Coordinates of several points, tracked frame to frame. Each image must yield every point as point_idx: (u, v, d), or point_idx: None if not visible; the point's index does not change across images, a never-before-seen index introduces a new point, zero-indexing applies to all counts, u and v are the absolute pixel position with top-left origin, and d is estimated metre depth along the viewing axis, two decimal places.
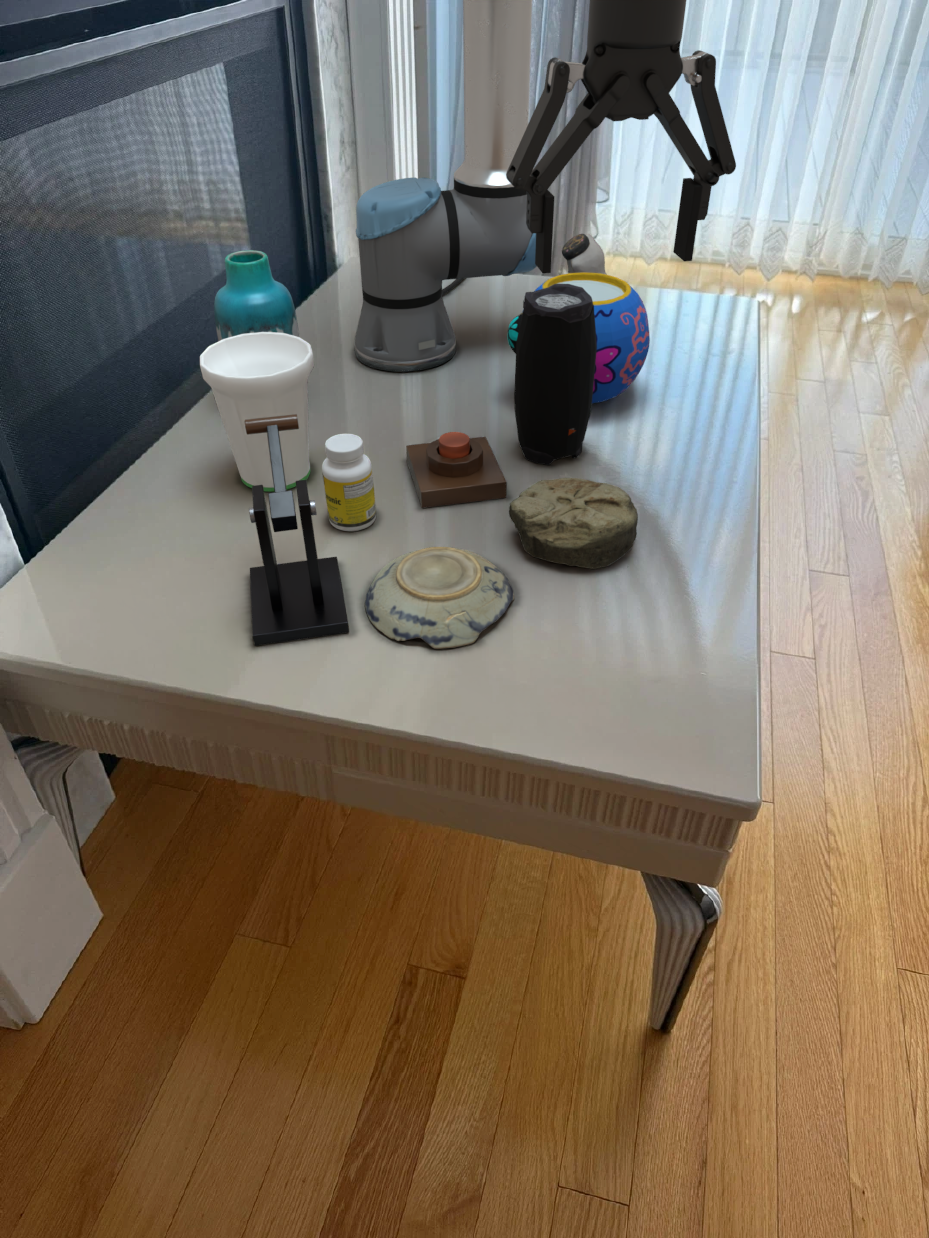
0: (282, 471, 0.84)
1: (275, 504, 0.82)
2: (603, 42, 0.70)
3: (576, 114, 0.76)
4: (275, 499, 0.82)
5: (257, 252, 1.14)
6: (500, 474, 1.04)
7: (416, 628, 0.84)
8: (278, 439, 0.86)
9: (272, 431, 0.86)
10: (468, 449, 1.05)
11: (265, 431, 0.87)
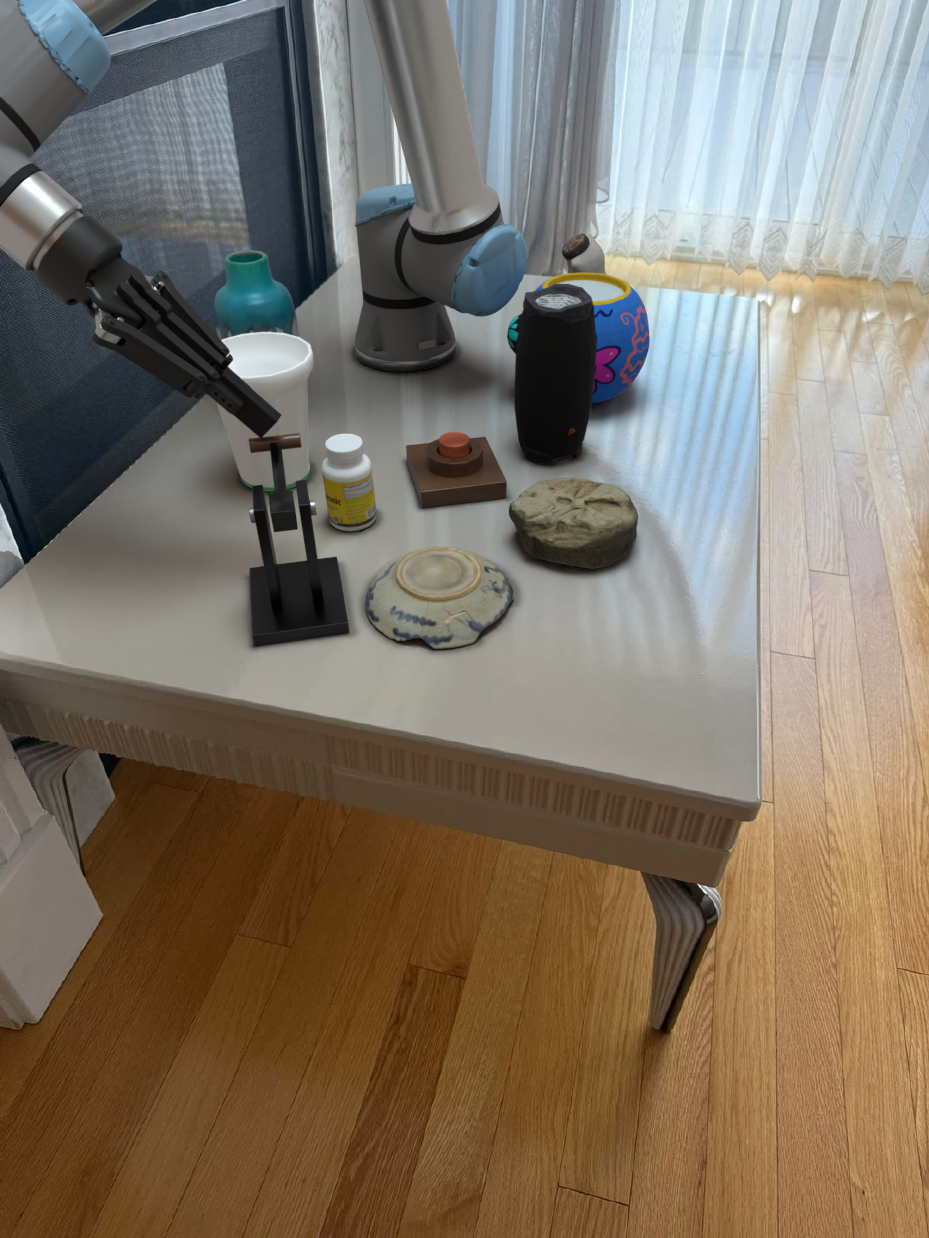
0: (283, 477, 0.85)
1: (275, 502, 0.82)
2: None
3: None
4: (275, 498, 0.82)
5: (257, 252, 1.14)
6: (500, 474, 1.04)
7: (416, 628, 0.84)
8: (280, 453, 0.88)
9: (275, 447, 0.88)
10: (468, 449, 1.05)
11: (268, 449, 0.89)
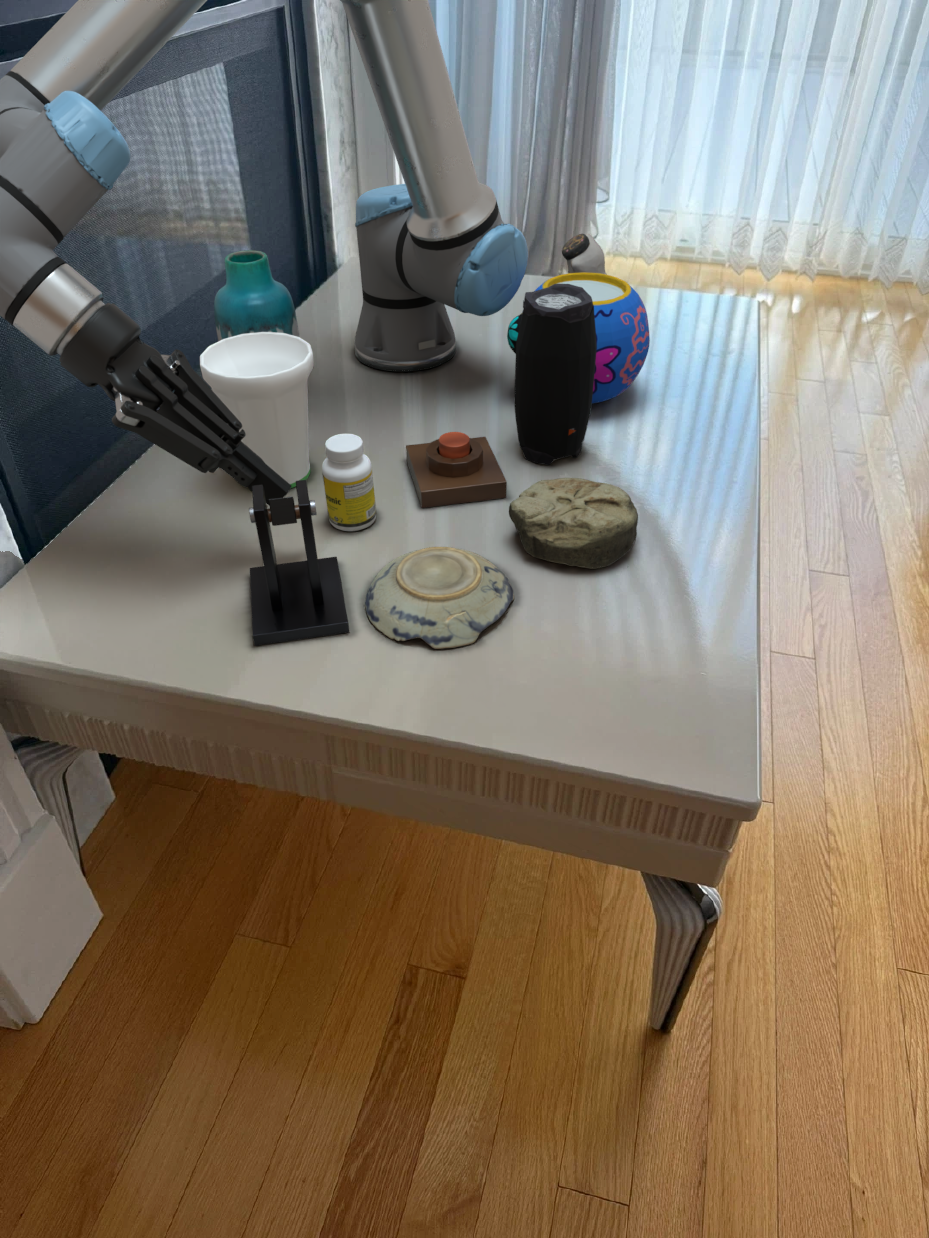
0: None
1: None
2: None
3: None
4: None
5: (257, 252, 1.14)
6: (500, 474, 1.04)
7: (416, 628, 0.84)
8: None
9: None
10: (468, 449, 1.05)
11: None
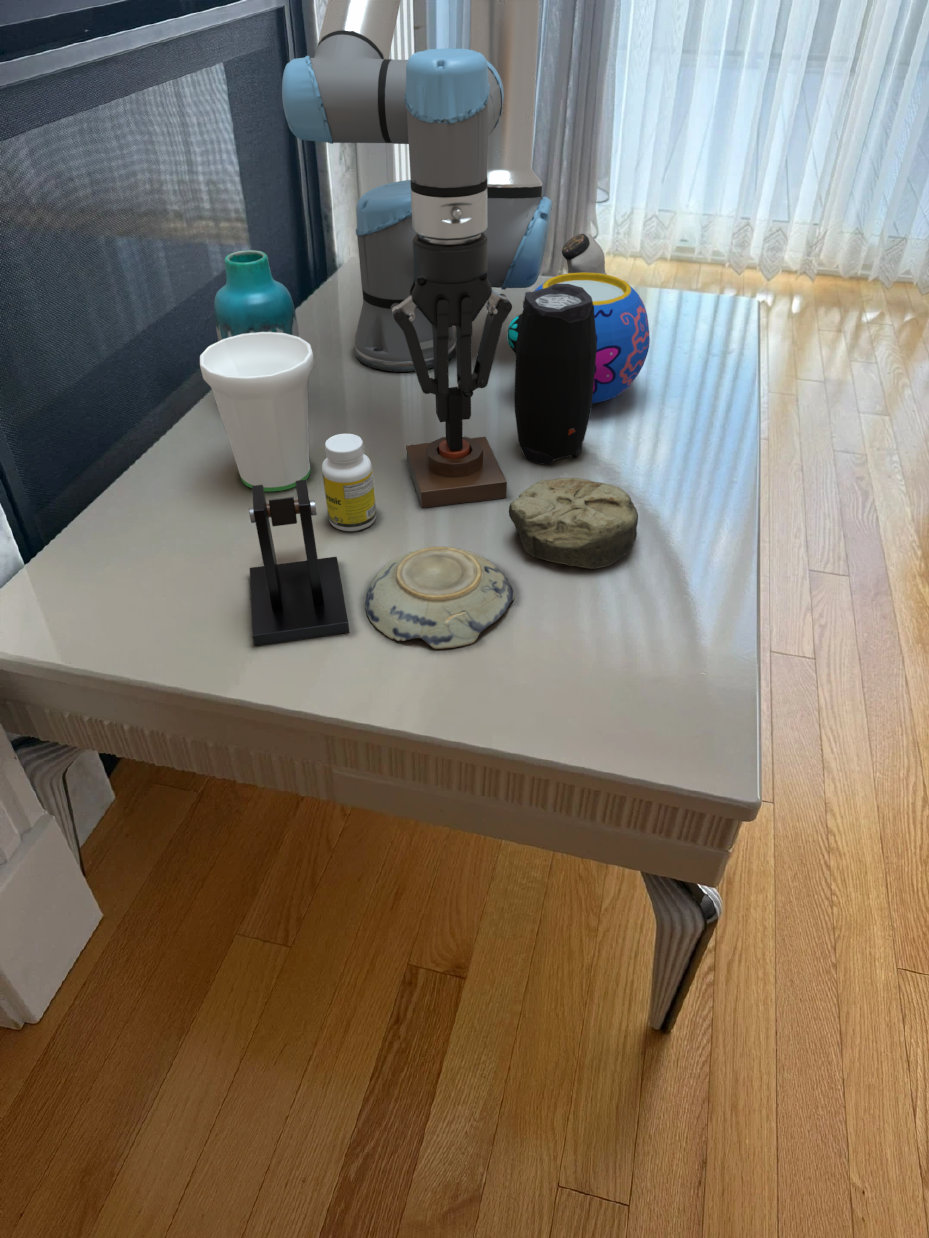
0: None
1: None
2: (422, 277, 0.90)
3: (433, 331, 0.97)
4: None
5: (257, 252, 1.14)
6: (500, 474, 1.04)
7: (416, 628, 0.84)
8: None
9: None
10: None
11: None
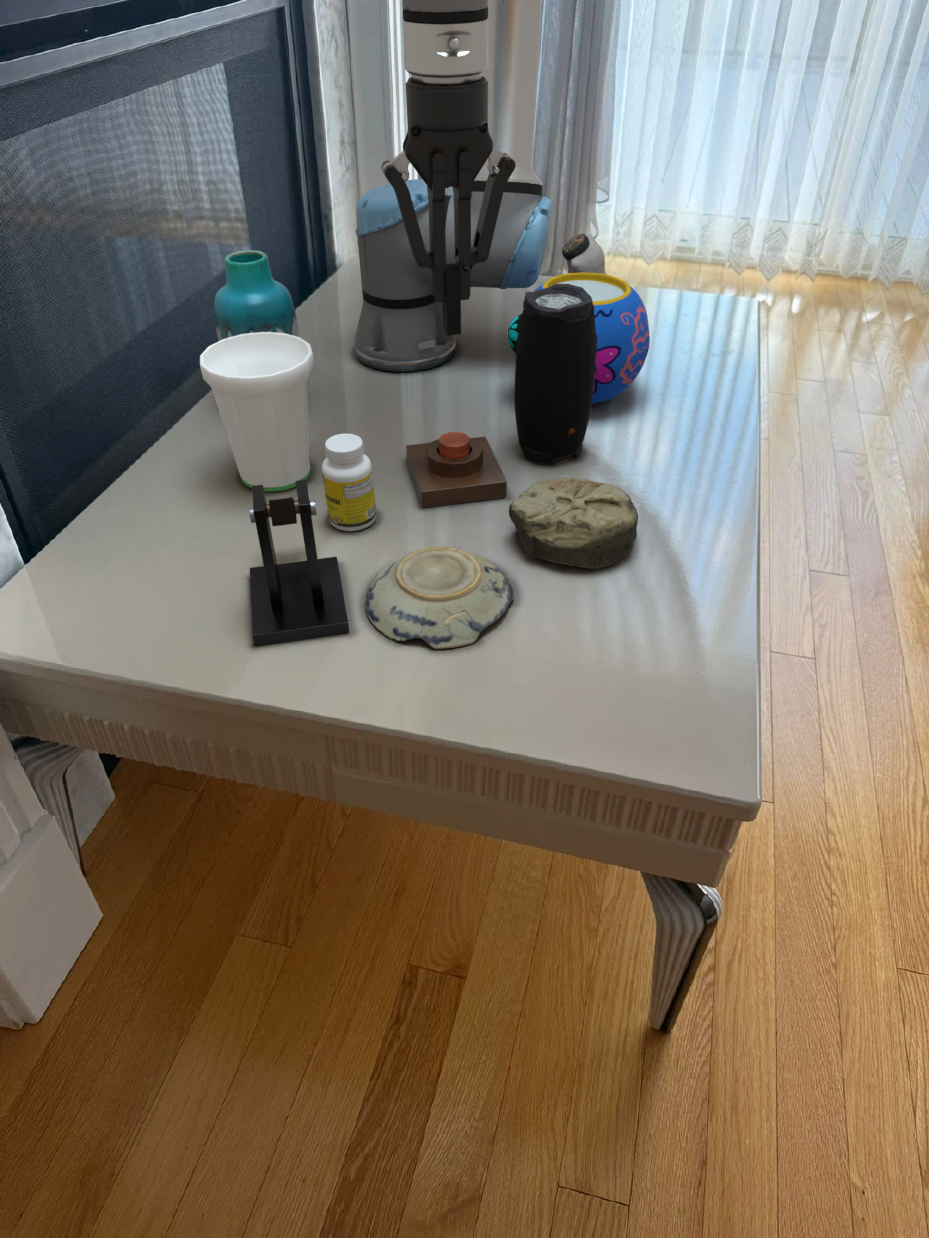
0: None
1: None
2: (416, 125, 0.81)
3: (428, 196, 0.88)
4: None
5: (257, 252, 1.14)
6: (500, 474, 1.04)
7: (416, 628, 0.84)
8: None
9: None
10: (468, 449, 1.05)
11: None
